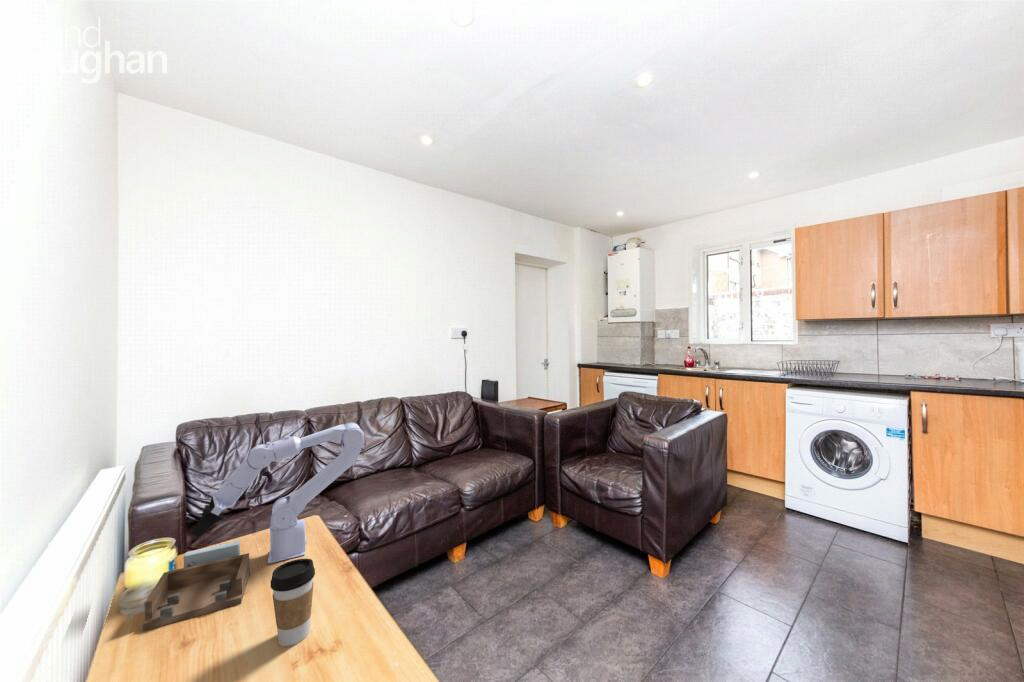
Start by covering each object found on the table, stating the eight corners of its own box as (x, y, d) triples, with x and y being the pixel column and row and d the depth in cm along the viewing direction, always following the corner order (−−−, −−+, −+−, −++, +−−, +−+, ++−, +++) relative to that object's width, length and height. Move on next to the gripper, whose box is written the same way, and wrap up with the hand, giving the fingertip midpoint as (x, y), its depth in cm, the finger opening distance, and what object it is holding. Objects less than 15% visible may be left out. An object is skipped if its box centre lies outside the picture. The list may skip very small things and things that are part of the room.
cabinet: (249, 572, 105) (249, 553, 105) (241, 603, 93) (240, 581, 93) (164, 594, 97) (164, 572, 97) (142, 631, 84) (142, 606, 84)
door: (240, 564, 109) (239, 540, 109) (238, 570, 106) (237, 545, 106) (186, 577, 104) (186, 552, 104) (183, 584, 101) (182, 558, 101)
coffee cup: (302, 651, 78) (301, 578, 78) (262, 651, 78) (260, 578, 78) (323, 620, 86) (322, 555, 86) (287, 621, 87) (285, 555, 87)
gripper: (228, 470, 113) (192, 512, 109) (218, 485, 101) (176, 533, 96) (250, 481, 116) (216, 523, 112) (243, 497, 103) (204, 545, 99)
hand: (199, 528), depth 104 cm, fingers open, 7 cm apart
